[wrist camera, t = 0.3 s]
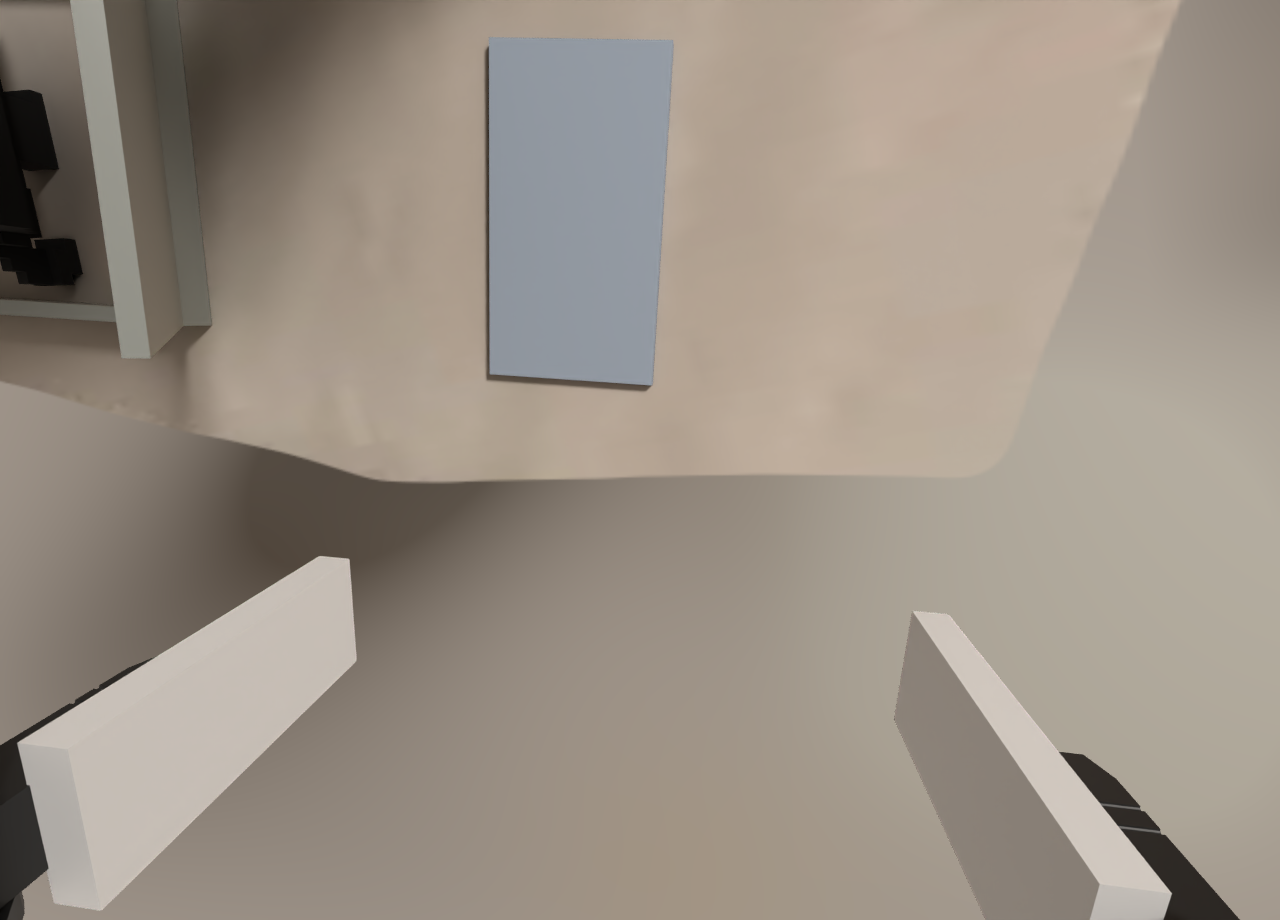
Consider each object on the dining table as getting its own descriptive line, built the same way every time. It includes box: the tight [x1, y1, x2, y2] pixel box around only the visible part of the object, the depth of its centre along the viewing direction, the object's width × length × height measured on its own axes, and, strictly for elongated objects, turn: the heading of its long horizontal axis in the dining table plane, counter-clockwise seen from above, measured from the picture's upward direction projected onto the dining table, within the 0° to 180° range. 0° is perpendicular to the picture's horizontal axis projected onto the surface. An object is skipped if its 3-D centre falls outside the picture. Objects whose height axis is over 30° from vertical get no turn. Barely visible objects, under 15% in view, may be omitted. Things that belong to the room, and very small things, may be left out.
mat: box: [489, 37, 674, 385], centre depth 38 cm, size 20×11×1 cm, turn 177°
